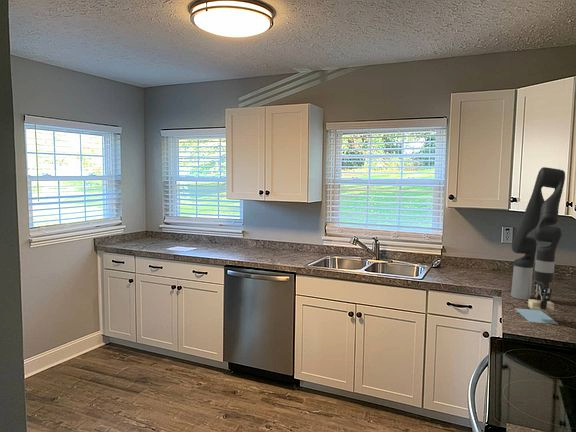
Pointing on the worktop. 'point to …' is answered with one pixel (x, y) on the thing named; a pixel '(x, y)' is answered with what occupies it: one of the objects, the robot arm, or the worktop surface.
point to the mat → (535, 316)
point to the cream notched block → (537, 305)
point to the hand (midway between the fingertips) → (540, 307)
